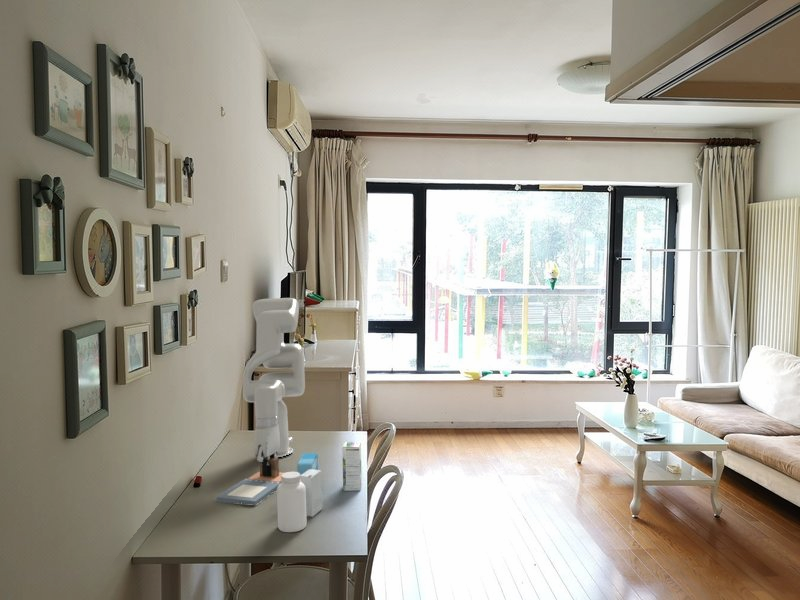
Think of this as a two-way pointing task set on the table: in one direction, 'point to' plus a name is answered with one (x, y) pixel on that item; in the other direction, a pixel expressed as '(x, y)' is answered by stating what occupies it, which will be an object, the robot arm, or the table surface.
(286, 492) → the pill bottle
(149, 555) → the table surface
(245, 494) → the board
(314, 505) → the skincare box
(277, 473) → the stub
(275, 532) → the table surface
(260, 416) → the robot arm
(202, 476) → the table surface
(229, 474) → the table surface
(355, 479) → the syrup box
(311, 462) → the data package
